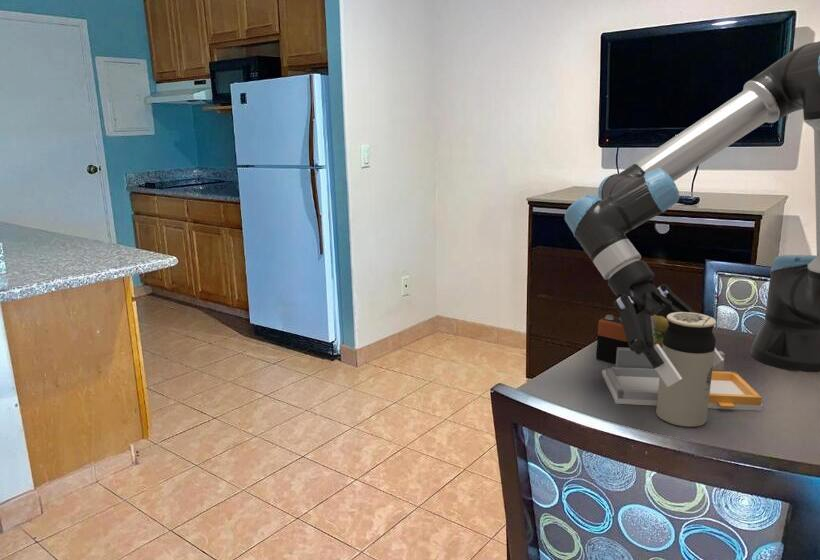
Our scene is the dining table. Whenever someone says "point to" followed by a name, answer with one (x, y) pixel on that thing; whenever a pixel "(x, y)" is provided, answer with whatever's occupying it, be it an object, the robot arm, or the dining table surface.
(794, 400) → the dining table surface
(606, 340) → the battery
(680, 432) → the dining table surface
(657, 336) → the hamburger
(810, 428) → the dining table surface
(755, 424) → the dining table surface
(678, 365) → the travel mug
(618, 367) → the grey orange flat box
